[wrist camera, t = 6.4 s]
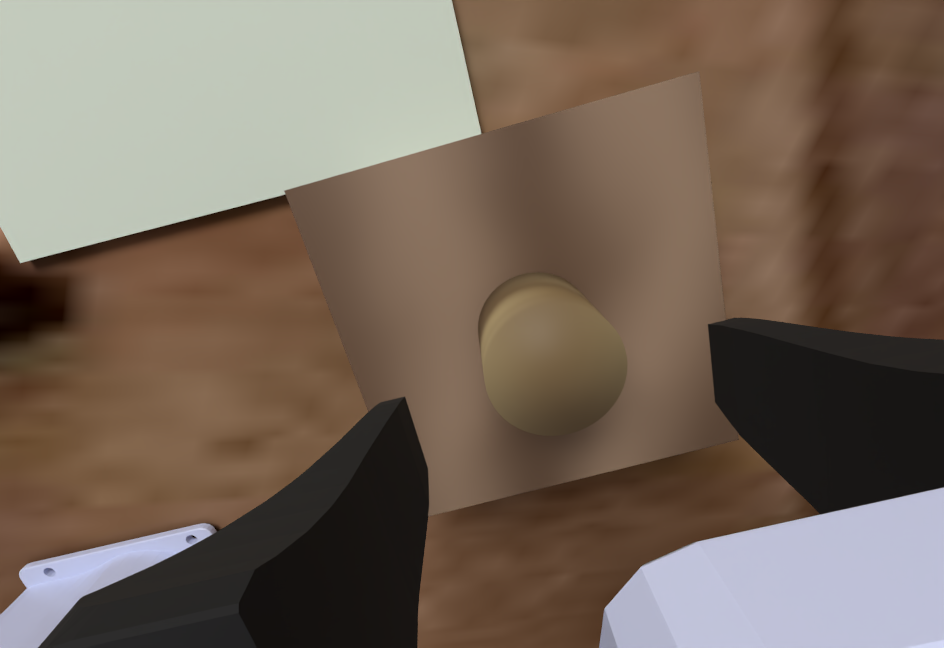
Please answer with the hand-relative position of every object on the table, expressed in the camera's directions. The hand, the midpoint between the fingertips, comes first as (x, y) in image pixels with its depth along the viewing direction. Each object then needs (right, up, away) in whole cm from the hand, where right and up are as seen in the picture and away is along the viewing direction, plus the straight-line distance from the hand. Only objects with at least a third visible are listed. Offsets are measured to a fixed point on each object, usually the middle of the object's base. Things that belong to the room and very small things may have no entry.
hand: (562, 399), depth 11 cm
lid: (0, +2, +5) cm, 5 cm away
